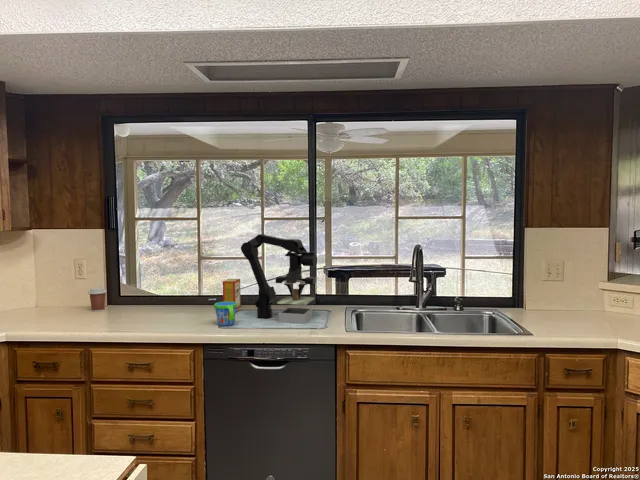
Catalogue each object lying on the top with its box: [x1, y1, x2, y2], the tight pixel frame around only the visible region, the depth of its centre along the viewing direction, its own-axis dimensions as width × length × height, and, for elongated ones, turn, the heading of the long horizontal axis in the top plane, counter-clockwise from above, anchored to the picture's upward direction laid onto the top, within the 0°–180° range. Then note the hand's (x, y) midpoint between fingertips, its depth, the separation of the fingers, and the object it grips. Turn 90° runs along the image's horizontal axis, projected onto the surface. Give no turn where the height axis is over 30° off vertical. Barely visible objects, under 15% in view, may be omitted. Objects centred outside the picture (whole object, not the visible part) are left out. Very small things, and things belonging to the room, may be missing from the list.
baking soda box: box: [222, 278, 242, 310], centre depth 256 cm, size 10×6×16 cm
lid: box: [276, 288, 316, 306], centre depth 226 cm, size 14×14×6 cm
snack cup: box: [213, 301, 237, 327], centre depth 220 cm, size 16×10×10 cm
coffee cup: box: [87, 286, 108, 312], centre depth 253 cm, size 9×9×12 cm
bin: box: [278, 307, 313, 325], centre depth 226 cm, size 13×13×5 cm
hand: (295, 297), depth 225 cm, fingers closed on lid, 3 cm apart
